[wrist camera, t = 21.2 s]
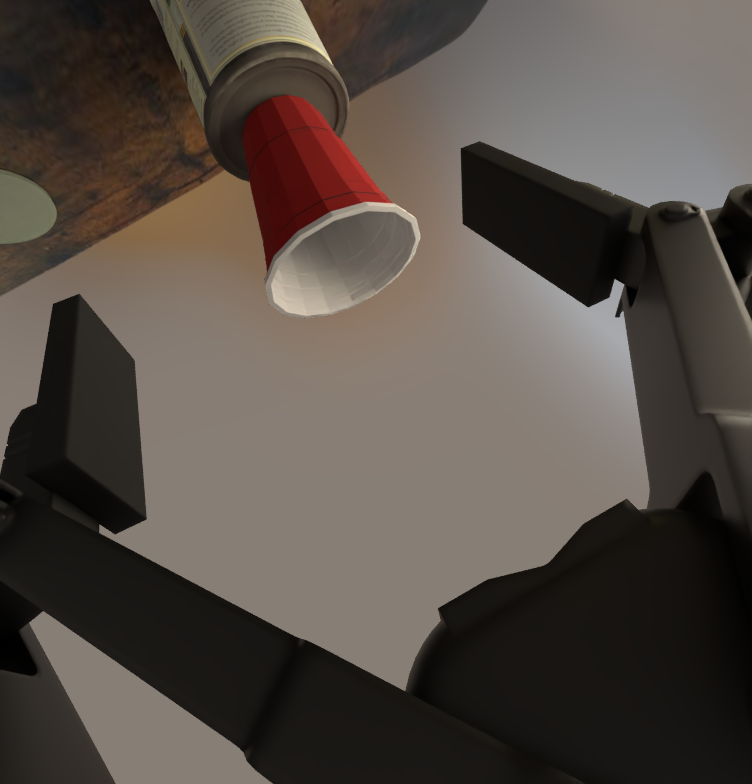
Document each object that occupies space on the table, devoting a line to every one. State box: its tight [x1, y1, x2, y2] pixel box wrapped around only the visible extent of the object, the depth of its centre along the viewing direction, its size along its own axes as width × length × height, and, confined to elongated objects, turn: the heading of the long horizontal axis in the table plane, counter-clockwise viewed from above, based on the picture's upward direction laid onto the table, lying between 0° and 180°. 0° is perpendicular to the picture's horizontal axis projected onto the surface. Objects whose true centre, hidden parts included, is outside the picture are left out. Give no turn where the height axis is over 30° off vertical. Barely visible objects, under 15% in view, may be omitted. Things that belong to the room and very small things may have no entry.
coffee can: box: [150, 0, 349, 182], centre depth 31 cm, size 10×10×14 cm
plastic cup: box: [242, 95, 420, 318], centre depth 29 cm, size 11×11×12 cm
